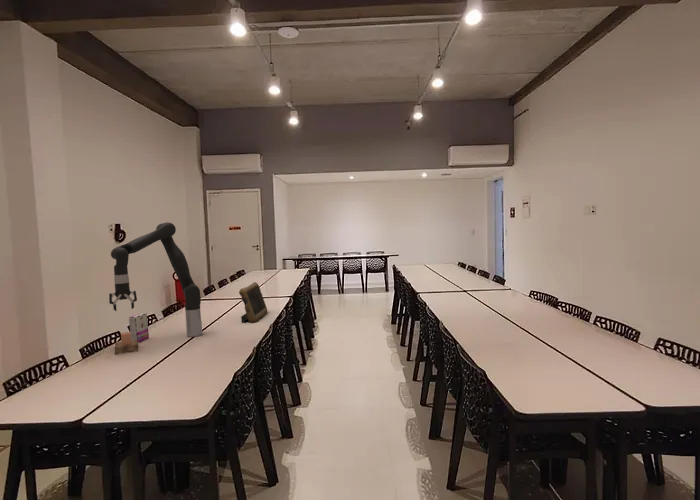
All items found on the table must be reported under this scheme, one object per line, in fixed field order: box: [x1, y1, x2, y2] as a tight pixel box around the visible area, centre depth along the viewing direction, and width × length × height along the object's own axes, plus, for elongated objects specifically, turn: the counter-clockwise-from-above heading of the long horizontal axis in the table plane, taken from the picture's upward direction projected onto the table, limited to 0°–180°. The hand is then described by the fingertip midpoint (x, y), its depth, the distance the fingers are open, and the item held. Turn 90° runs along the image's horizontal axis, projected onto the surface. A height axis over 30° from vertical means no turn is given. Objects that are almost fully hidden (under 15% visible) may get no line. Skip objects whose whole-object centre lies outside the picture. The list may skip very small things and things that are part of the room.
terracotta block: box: [120, 331, 131, 345], centre depth 261 cm, size 5×5×6 cm
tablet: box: [238, 281, 268, 324], centre depth 333 cm, size 33×14×25 cm, turn 179°
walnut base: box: [114, 339, 139, 355], centre depth 262 cm, size 12×12×4 cm
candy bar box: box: [128, 312, 150, 343], centre depth 281 cm, size 11×5×16 cm, turn 168°
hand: (124, 309), depth 260 cm, fingers open, 8 cm apart
